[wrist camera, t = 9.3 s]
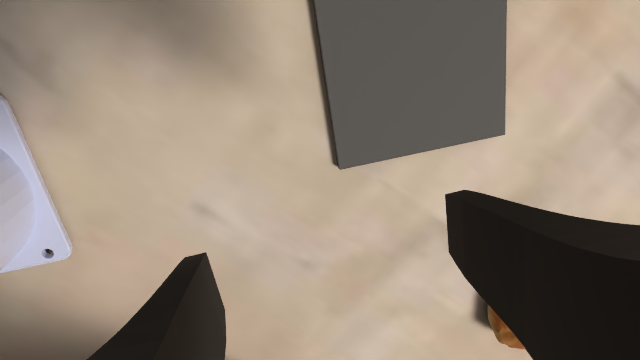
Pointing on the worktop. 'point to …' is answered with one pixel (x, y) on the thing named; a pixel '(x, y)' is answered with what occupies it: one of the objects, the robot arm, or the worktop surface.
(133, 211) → the worktop surface
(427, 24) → the mat
